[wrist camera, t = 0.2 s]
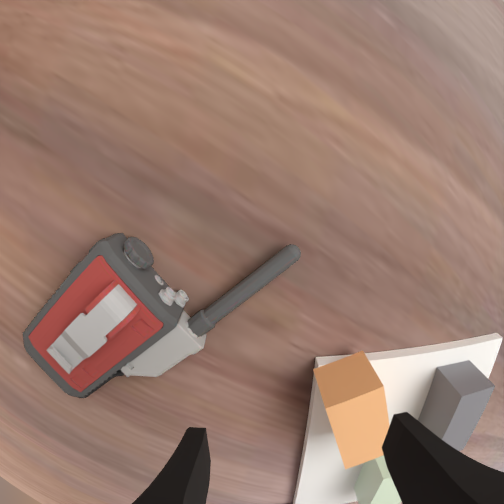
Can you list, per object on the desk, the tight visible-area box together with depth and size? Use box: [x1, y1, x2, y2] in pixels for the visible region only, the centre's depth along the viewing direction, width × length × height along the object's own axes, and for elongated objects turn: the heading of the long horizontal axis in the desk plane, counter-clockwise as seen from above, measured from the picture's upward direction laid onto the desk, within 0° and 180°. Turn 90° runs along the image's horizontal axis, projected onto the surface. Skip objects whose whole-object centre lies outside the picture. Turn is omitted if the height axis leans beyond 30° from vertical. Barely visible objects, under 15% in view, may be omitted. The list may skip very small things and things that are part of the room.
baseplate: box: [293, 333, 503, 504], centre depth 23 cm, size 20×17×1 cm
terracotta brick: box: [313, 351, 389, 469], centre depth 18 cm, size 7×4×4 cm, turn 20°
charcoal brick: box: [418, 360, 495, 451], centre depth 19 cm, size 7×4×4 cm, turn 0°
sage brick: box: [354, 455, 401, 504], centre depth 21 cm, size 7×4×4 cm, turn 0°
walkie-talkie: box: [23, 233, 301, 398], centre depth 18 cm, size 9×4×20 cm
